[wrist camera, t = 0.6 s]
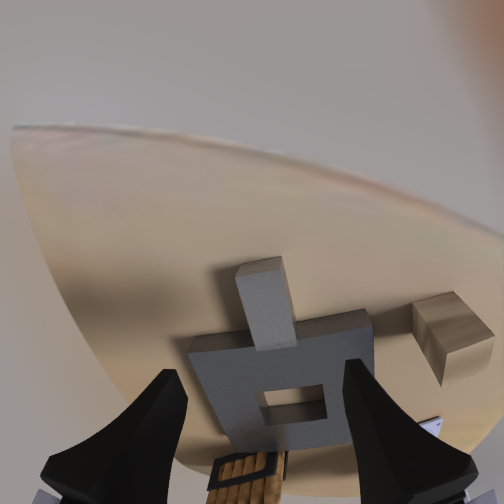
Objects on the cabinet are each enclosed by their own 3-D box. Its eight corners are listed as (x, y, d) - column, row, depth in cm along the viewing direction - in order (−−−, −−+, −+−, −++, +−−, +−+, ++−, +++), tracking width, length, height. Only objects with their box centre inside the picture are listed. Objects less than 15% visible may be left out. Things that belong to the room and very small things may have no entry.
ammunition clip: (224, 466, 31) (204, 540, 19) (213, 459, 31) (191, 535, 19) (289, 443, 28) (282, 535, 16) (279, 436, 27) (268, 531, 16)
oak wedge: (451, 321, 21) (487, 369, 14) (411, 332, 22) (441, 387, 15) (453, 291, 20) (495, 335, 13) (412, 302, 21) (447, 353, 14)
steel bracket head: (369, 419, 25) (372, 437, 23) (240, 435, 28) (236, 452, 26) (357, 240, 20) (365, 251, 18) (173, 277, 23) (161, 290, 20)
